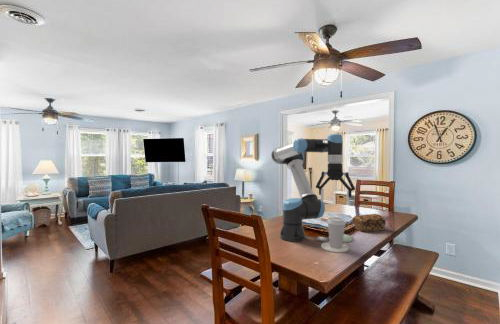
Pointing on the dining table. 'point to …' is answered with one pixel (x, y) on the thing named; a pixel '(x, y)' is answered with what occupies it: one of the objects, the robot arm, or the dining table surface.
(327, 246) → the coaster cream
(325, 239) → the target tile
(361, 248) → the dining table surface
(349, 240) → the coaster sage
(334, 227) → the coffee cup
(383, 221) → the bread
